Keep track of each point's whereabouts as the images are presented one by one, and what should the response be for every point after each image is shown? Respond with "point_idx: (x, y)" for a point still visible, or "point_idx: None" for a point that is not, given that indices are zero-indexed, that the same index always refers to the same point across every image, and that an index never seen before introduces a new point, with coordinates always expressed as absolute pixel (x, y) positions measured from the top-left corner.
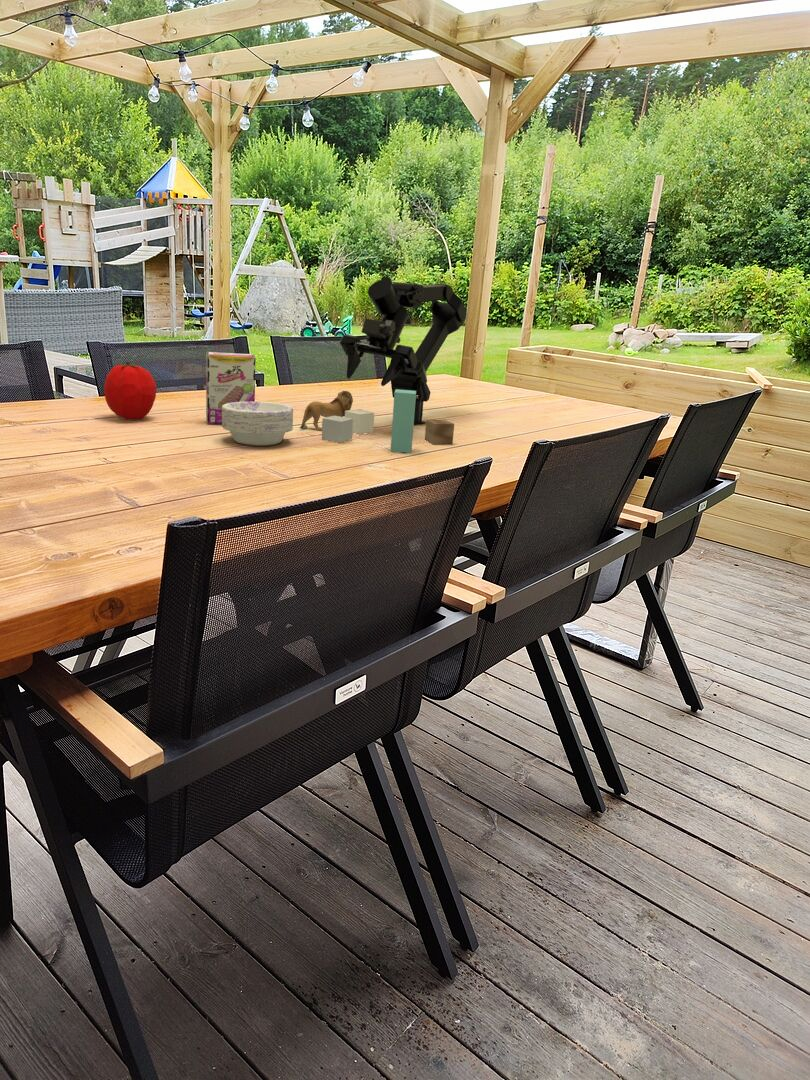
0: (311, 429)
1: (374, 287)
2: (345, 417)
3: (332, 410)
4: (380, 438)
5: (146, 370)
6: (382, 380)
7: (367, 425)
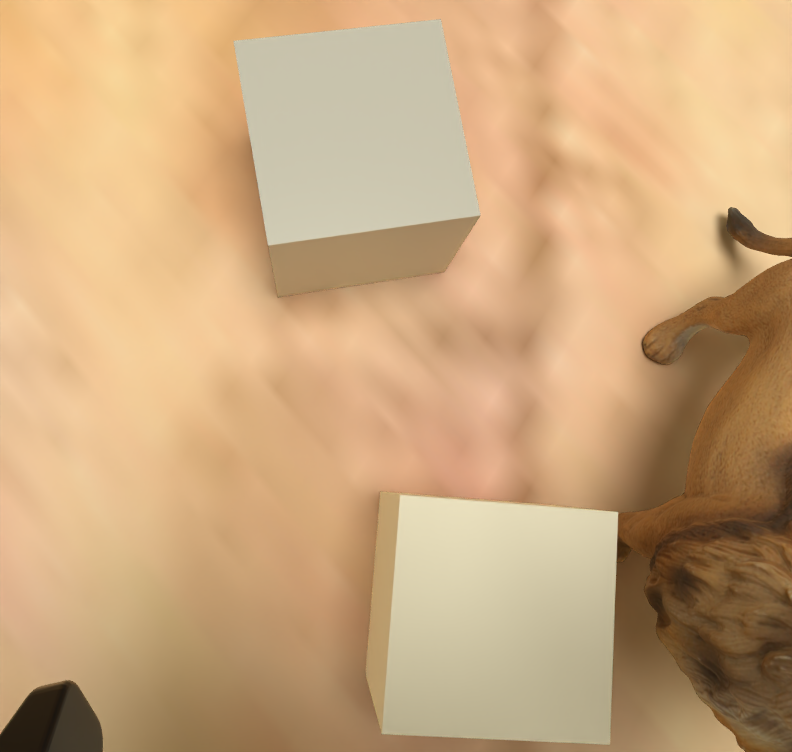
0: None
1: None
2: (353, 230)
3: (708, 432)
4: (173, 546)
5: None
6: (35, 739)
7: (378, 609)
